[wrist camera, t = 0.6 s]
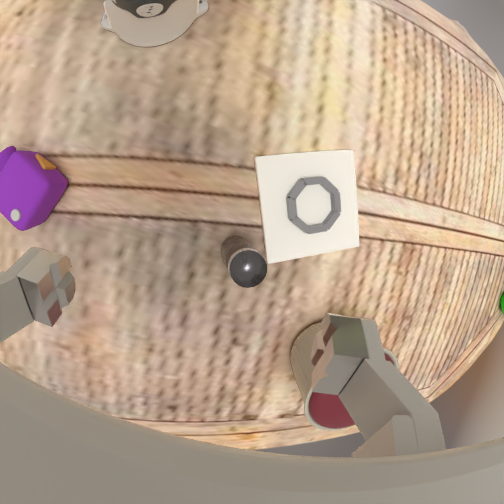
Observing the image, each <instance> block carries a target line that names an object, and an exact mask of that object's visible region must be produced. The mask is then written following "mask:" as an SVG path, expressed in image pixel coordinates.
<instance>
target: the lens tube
mask: <svg viewBox="0 0 504 504" xmlns="http://www.w3.org/2000/svg"><path fill="white" fill-rule="evenodd" d="M221 255H222V257H223V260H224V262H225V264H226V266H227V268H228V272H229V274H230V276H231V278H232V279H233V280H234V282H235V283H236V284H238V285H239V286H242V287H246V288H249V287H254V286H256V285H258V284H259V283H261V282H262V281H263V279H264V278H265V276H266V273H267V264H266V262H265V260H264V258H263V256H262V255H261V254H260V253H259V252H258V251H256V250H255V249H254V248H253V247H252V246H251V244H250V243H249V242H248V241H247V240H246V239H245V238H243V237H240V236H232V237H230V238H228V239H226V240H225V241H224V243H223V244H222V247H221Z"/></svg>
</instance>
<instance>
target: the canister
mask: <svg viewBox="0 0 504 504" xmlns="http://www.w3.org/2000/svg"><path fill="white" fill-rule="evenodd" d="M320 330H322V322H318V323H316V324H313V325H312V326H310V327H308V328H307V329H305V330H304V331H303V332H302V333H301V334H300V335H299V336H298V337H297V339H296V340H295V342H294V345H293V346H292V350H291V355H290V358H291V366H292V369H293V373H294V376H295V379H296V382H297V384H298V387H299V390H300V392H301V395H302V398H303V401H304V403H305V404H304V412H305V416H306V418H307V420H308V421H309V422H310V424H312V425H313V426H314V427H316V428H319V429H322V430H340V429H344V428H348V427H351V426H353V425H356V424H355V422H354V421H353V419H352V418H351V416H350V414H349V413H348V411H347V410H346V408H345V406H344V405H343V403H342V402H341V400H340V398H339V397H338V396H339V395H333V394H325V393H317V392H312V372H313V370H314V368H315V366H314V365H313V364H312V362H311V350H312V345H313V341H314V338H315V336H316V333H317V332H319V331H320ZM383 351H384V355H385V359H386V361H390V362H391V363H392V364H393V365H394V366H395V367H396V368H397V369H398V370H399V364H398V360H397V358H396V356H395V355H394V354H393V353H392V352H391V351H390V350H388V349H386V348H384V347H383Z"/></svg>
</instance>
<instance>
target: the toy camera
mask: <svg viewBox="0 0 504 504" xmlns="http://www.w3.org/2000/svg"><path fill="white" fill-rule="evenodd" d="M67 185H68V181H67V179H66V178H65V177H64V176H63V175H62V174H61V173H60V172H59V171H58V170H57V169H56V166H54V165H53V164H52V163H50V162H49V161H48V160H47V159H45V158H44V157H43V156H42V155H41V154H39V153H37V152H32V151H20V150H19V151H16V148H15V147H14V146H10V147H7V148H6V149H4V150H3V151H2V152H1V153H0V212H1V213H2V214H3V215H4V216H5V217H6V218H7V219H8V220H9V221H10V222H11V223H12V224H13V225H14V226H15V227H16V228H17V229H18V230H21V231H24V230H27V229H30V228H32V227H34V226H37V225H39V224H41V223H43V222H44V221H45V220H46V219H47V217H48V216H49V214H50V213H51V211H52V209H53V208H54V206H55V205H56V203H57V202H58V200H59V199H60V197H61V196H62V194H63V192H64V191H65V189H66V187H67Z"/></svg>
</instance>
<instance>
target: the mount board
mask: <svg viewBox="0 0 504 504" xmlns="http://www.w3.org/2000/svg"><path fill="white" fill-rule="evenodd" d="M254 161H255V169H256V177H257V186H258V194H259V202H260V211H261V219H262V228H263V237H264V245H265V254H266V262H267V263H268V264H270V263H275V262H280V261H286V260H291V259H296V258H302V257H307V256H312V255H317V254H322V253H328V252H333V251H338V250H343V249H348V248H353V247H358V246H359V226H358V206H357V191H356V178H355V166H354V156H353V150H335V151H317V152H303V153H290V154H279V155H269V156H259V157H254Z"/></svg>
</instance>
